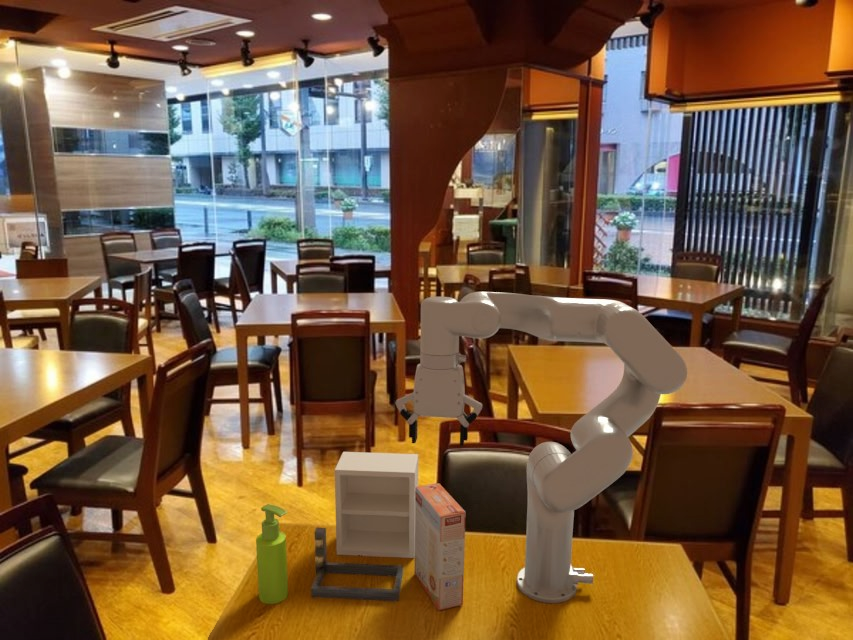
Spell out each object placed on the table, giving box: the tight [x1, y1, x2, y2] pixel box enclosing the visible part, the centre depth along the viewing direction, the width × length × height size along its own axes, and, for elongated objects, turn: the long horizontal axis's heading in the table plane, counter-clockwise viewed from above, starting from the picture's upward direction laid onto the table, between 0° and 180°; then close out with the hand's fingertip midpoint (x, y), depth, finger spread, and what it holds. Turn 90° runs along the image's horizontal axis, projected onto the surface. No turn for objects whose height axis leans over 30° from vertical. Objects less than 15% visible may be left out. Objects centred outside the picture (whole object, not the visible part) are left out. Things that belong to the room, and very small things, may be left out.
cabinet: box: [334, 451, 419, 559], centre depth 149 cm, size 18×10×21 cm, turn 86°
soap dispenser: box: [255, 503, 289, 605], centre depth 130 cm, size 6×7×20 cm
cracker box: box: [413, 483, 467, 612], centre depth 133 cm, size 14×6×21 cm, turn 21°
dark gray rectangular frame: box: [310, 526, 404, 602], centre depth 135 cm, size 19×10×10 cm, turn 86°
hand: (438, 442), depth 129 cm, fingers open, 9 cm apart
